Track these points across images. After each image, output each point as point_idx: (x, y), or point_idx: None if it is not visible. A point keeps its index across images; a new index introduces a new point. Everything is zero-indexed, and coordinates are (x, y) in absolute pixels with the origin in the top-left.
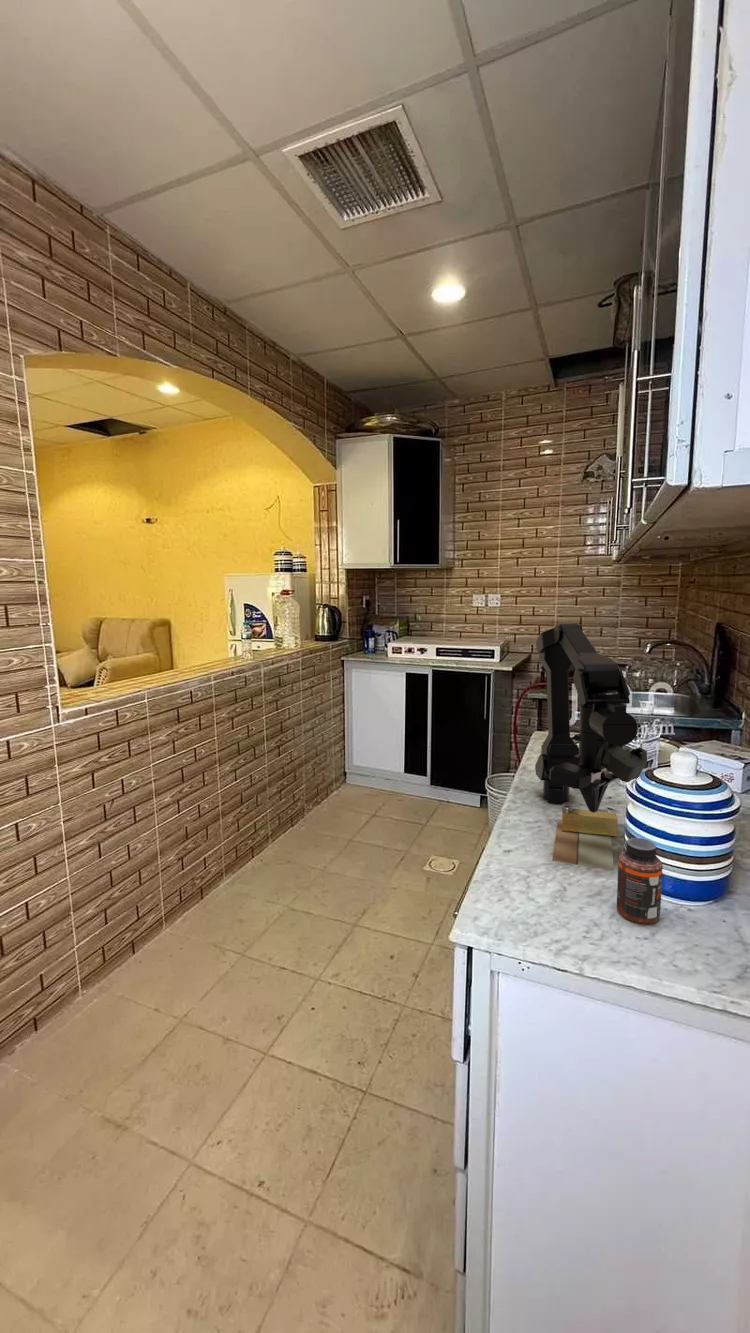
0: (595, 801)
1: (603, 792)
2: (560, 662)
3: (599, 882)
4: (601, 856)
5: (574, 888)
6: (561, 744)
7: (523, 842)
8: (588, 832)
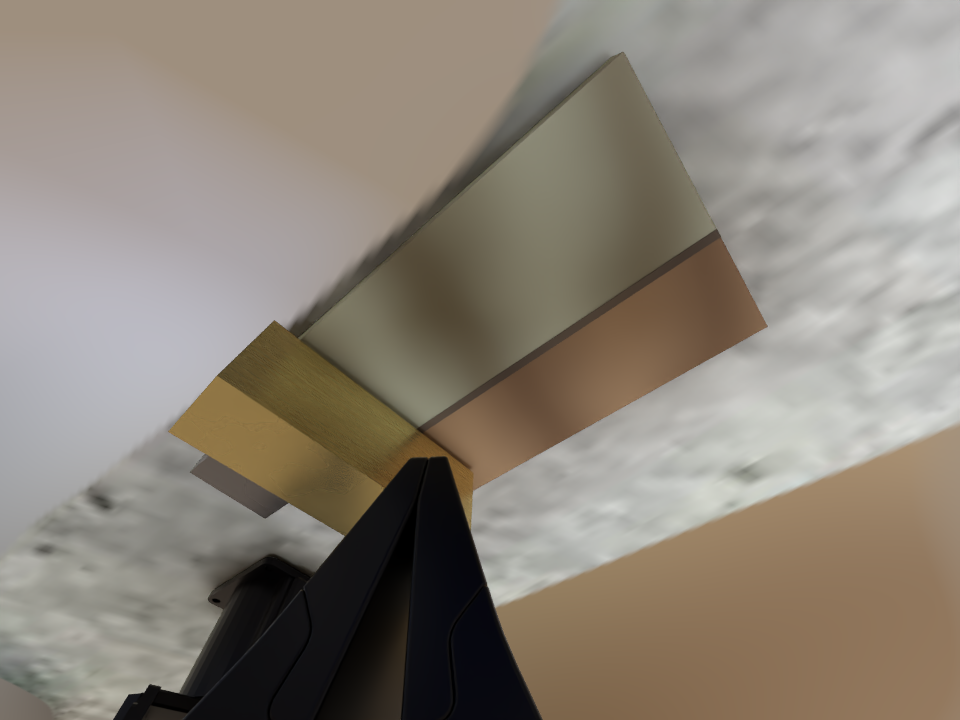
0: (459, 543)
1: (300, 630)
2: None
3: (734, 59)
4: (526, 221)
5: (901, 96)
6: None
7: (635, 486)
8: (387, 409)
